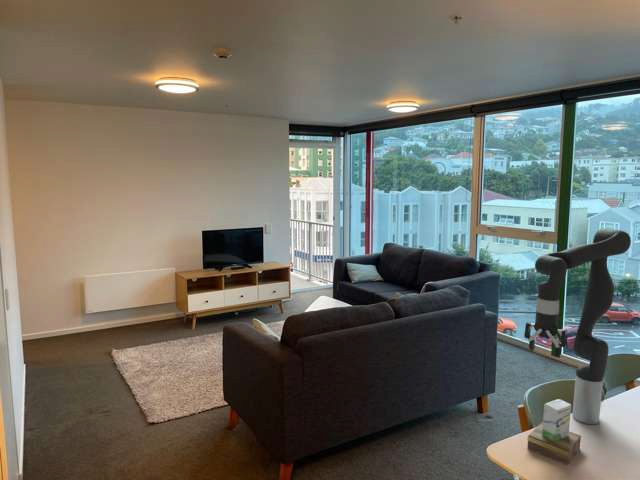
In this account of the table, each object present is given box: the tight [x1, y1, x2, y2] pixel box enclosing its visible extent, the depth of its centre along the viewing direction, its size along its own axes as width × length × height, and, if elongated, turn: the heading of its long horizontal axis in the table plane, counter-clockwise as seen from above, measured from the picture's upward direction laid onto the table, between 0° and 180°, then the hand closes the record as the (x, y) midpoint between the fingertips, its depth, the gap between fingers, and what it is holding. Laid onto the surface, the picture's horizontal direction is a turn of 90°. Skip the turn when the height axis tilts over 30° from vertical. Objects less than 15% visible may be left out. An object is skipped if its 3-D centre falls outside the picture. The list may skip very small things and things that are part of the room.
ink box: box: [542, 398, 572, 442], centre depth 163 cm, size 8×5×12 cm, turn 120°
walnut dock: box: [526, 421, 582, 466], centre depth 164 cm, size 14×13×5 cm
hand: (544, 353), depth 173 cm, fingers open, 8 cm apart
